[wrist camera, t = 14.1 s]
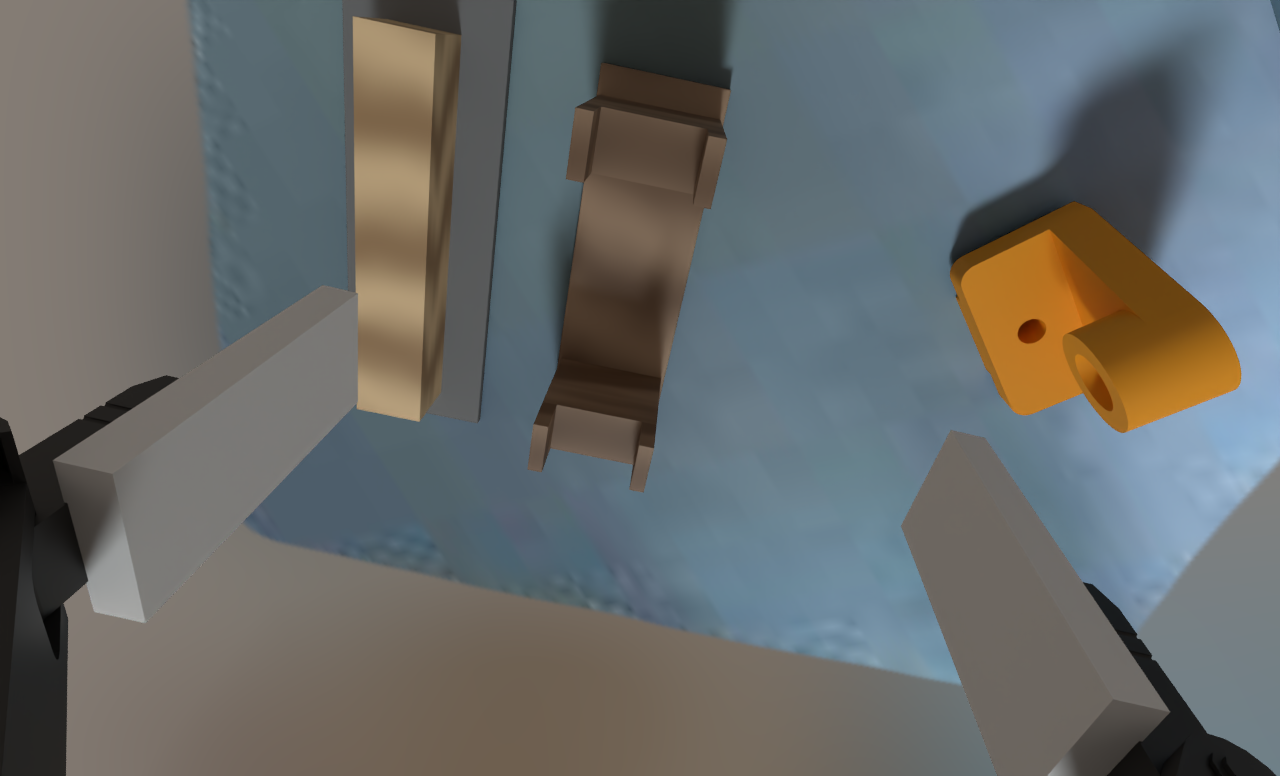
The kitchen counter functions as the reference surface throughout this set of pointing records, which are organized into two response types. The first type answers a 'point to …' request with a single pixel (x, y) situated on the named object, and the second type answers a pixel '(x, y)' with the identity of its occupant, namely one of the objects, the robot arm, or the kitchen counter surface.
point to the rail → (402, 209)
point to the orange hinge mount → (1089, 323)
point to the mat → (456, 175)
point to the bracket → (629, 260)
